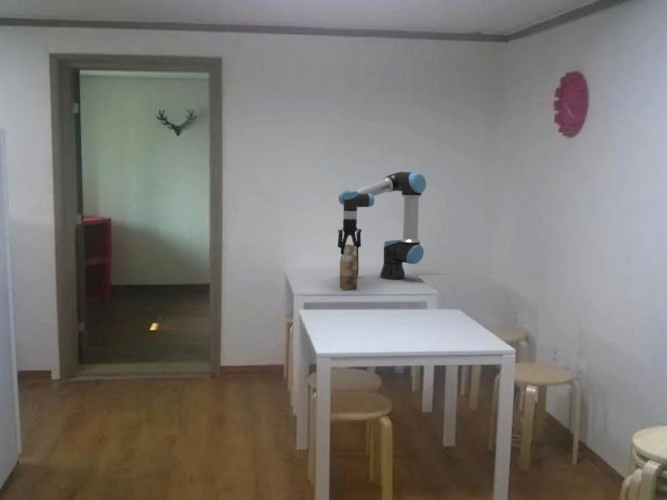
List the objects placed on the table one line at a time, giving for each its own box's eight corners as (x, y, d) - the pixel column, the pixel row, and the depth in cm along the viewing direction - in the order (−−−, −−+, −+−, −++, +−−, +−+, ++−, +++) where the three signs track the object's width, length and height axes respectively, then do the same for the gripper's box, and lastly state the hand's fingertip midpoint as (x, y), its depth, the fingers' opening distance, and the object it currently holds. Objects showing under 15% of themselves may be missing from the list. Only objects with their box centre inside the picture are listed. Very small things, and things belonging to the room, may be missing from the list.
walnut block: (350, 287, 408) (351, 273, 407) (356, 289, 402) (357, 275, 401) (339, 288, 405) (340, 274, 404) (345, 290, 399) (346, 276, 398)
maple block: (351, 259, 405) (351, 245, 404) (356, 261, 400) (356, 246, 399) (341, 260, 402) (341, 245, 401) (346, 261, 397) (347, 247, 396)
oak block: (350, 273, 407) (351, 259, 406) (356, 275, 401) (357, 261, 400) (339, 274, 404) (340, 260, 403) (345, 276, 397) (346, 261, 396)
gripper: (361, 217, 406) (360, 258, 409) (331, 218, 397) (330, 259, 400) (368, 218, 399) (367, 260, 402) (337, 219, 390) (336, 261, 393)
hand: (348, 259), depth 401 cm, fingers closed on maple block, 6 cm apart
